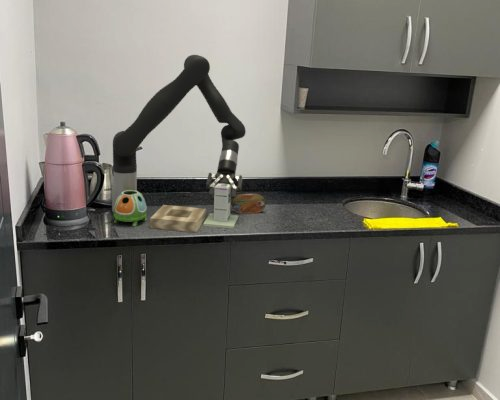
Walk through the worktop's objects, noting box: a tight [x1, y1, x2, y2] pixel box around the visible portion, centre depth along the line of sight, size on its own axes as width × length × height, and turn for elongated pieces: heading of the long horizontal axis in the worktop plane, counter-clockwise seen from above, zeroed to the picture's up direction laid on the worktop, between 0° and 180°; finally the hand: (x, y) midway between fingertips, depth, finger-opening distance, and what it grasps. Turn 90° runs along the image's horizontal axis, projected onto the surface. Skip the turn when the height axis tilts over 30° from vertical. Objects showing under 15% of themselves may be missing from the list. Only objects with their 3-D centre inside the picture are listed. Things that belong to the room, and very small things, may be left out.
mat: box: [202, 212, 239, 230], centre depth 204 cm, size 12×14×1 cm
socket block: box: [149, 204, 207, 233], centre depth 199 cm, size 18×18×4 cm
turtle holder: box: [113, 190, 148, 227], centre depth 199 cm, size 12×18×12 cm
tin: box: [231, 193, 267, 215], centre depth 217 cm, size 15×3×8 cm, turn 105°
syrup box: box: [213, 183, 232, 222], centre depth 202 cm, size 6×6×14 cm
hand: (221, 197), depth 200 cm, fingers open, 8 cm apart
